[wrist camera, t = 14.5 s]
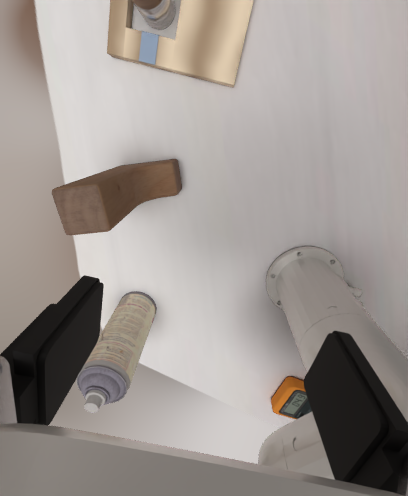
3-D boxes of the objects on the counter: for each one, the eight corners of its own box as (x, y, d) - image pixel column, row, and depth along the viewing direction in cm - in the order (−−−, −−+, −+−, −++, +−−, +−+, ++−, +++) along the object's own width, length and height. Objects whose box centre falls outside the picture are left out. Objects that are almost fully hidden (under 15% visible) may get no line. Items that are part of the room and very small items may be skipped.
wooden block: (177, 158, 39) (147, 177, 23) (182, 189, 41) (157, 227, 25) (118, 165, 40) (48, 189, 24) (125, 195, 42) (64, 237, 25)
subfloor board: (260, -32, 31) (263, -44, 29) (233, 87, 35) (234, 84, 33) (122, -70, 30) (115, -84, 28) (112, 57, 35) (106, 52, 33)
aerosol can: (116, 315, 51) (58, 417, 33) (125, 286, 49) (67, 380, 30) (150, 326, 52) (112, 433, 34) (161, 298, 49) (126, 398, 31)
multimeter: (341, 422, 60) (348, 438, 57) (267, 398, 58) (270, 414, 55) (364, 397, 57) (372, 413, 54) (286, 372, 55) (290, 386, 52)
